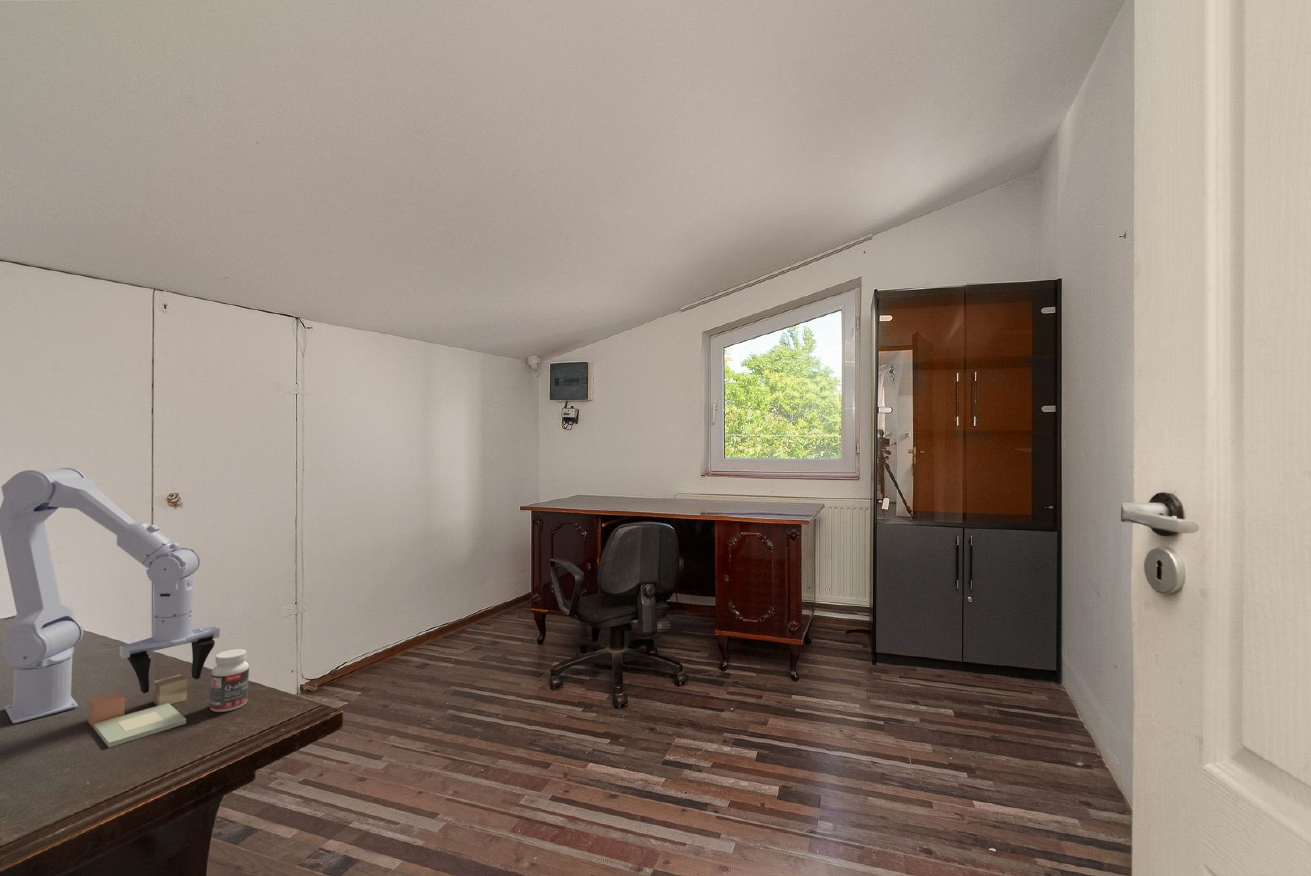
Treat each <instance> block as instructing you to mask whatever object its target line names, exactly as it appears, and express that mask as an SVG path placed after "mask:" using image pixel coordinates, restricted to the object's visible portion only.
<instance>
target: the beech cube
mask: <svg viewBox="0 0 1311 876" xmlns="http://www.w3.org/2000/svg"><path fill="white" fill-rule="evenodd" d="M187 690H188V679H187V678H185V677H184V676H183V675H182V674H177V675H174V676H170V677H165V678H162V679H158V680H157V679H156V680H153V694H152V695H153V696H152V702H153V703H154V704H155V705H156V706H159V705H163V704H166V703H169V704H170V705H171V706H172V705H174V703H175V704H178V703H181V702H180V701H182V702H185V701H187V700H188V699H187V698H188V697H187V694H188V691H187ZM177 702H178V703H177Z"/></svg>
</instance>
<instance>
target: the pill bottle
mask: <svg viewBox="0 0 1311 876" xmlns="http://www.w3.org/2000/svg"><path fill="white" fill-rule="evenodd" d="M247 654H248V653H247V650H246V649H243V648H238V649H236V648H235V649H229V650H224V651H221V652H219V653H217V654H216V655H215V661H214V662H215V664H216V665H215V666H214V667H213V668H212V669H211V673H210V674H211V677H210V697H209V709H210V710H211V711H212V712H215V713H223V712H231V711H235V710H237V709H240V708H242V707H243V706H245V705H246V704H247V703H248V699H249V698H248V697H249V674H250V673H249V671H250V665H249V663H248V661H245V660H246V659H247V657H248V655H247ZM247 681H248V682H247Z"/></svg>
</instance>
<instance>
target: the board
mask: <svg viewBox="0 0 1311 876" xmlns="http://www.w3.org/2000/svg"><path fill="white" fill-rule="evenodd" d="M186 724H187V718H186V717H185V716H183V714H181V713H180V712H179V711H178V710H177V709H176V708H175V707H174V706H172V704H171V705H170V704H169V703H166V704H163V705H159V706H157V705H156V706H152V707H149V708H144V709H142V710H138V711H134V712H131V713H127V714H124V715H123V716H120V717H116V718H113V719H109V720H106V721H102V722H99V723H95V724H94V728H93V729H94V731H95V732H96V733H97V734H98V736H99V737H100V738H101V740H102V741H103V742H104V744H105V745H106V746H107V747H108V748H112V747H115V746H119V745H121V744H125V743H129V742H131V741H136V740H138V739H140V738H141V739H142V738H144V737H147V736H151V735H153V734H157V733H160V732H164V731H167V730H170V729H174V728H176V727H179V726H184V725H186Z"/></svg>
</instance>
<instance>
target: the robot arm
mask: <svg viewBox="0 0 1311 876" xmlns="http://www.w3.org/2000/svg"><path fill="white" fill-rule="evenodd" d="M1 491H2V496H3V499H2V502H1V505H0V541H1V544H2V549H3V555H4V558H5V562H6V568H7V573H8V578H9V582H10V588H11V591H12V596H13V602H14V606H15V607H14V608H15V610H16V615H15V616H14V617H13V619H12V620H11V622H10V623H9V624H8V626H7V627H6V628H5V630H4V632H5V637H6V638H5V642H4V645H3V646H2V647H3V648H2V656H3V658H4V660H5V662H7V664H9V665H10V666H11V669H12V670H14V671H13V689H12V690H13V693H12V696H13V697H12V703H11V704H6V705H5V706H4V710H5V712H6V713H7V715H8V718H9V719H10V721H11V722H12V724H19V723H21V722H25V721H29V720H33V719H37V718H41V717H45V716H49V715H52V714H53V715H54V714H57V713H61V712H64V711H67V710H71V709H75V708H77V707H78V706H79V705H78V703H77V702H76V700H75V699H74V698H73V697H72V679H73V678H72V675H73V671H72V670H73V654H74V653H75V647H76V646H77V645H79V643H80V642H81V641H82V639H83V636H84V628H83V625H82V624H81V622H79V621H78V620H77V618H76V617H75V614H74V610H73V609H72V607H69V606H66V605H65V604H63V603H62V602H61V598H60V593H59V588H58V584H57V583H58V582H57V577H56V573H55V568H54V565H53V560H52V553H51V550H50V545H49V541H48V536H47V531H46V530H47V529H46V526H45V521H47V520H48V519H49V517H51V516H52V514H54V513H55V512H56V511H57V510H58V509H59V508H65V509H75V510H77V511H80V512H81V513H83V514H84V515H86V516H87V517H89V518H90V519H92V521H94V522H96V523H97V524H99V525H101V526H102V527H104V528H105V529H107V530H108V531H110V532H111V533H113V534H114V535H115V536H116V546H118V547H119V548H120V549H121V550H123V551H124V552H125V553H126V554H128V555H129V556H130V557H132V558H133V559H134V560H136V561H137V562H138V563H140V564H141V565H142V566H144V567H145V568H147V569H146V570H145V571H146V575H147V578H148V579H149V581H151V582H152V584H153V610H152V611H153V615H152V617H153V618H152V636H151V637H148V638H145V639H141V640H138V641H135V642H131V643H127V644H123V645H120V646H119V658H121V659H122V660H123V659H127V660H128V662H129V664H130V665H131V666H132V668H133V671H134V672H135V674H136V677H137V679H138V683H139V688H140V692H141V693H142V694H147V693H149V692H150V691H149V690H150V676H149V675H150V668H151V661H152V658H150V657H149V653H150V652H155V651H159V650H164V649H168V648H172V647H177V646H181V645H186V644H191V650H192V651H191V652H192V653H191V654H192V662H191V677H192V679H194V680H199V679H201V674H202V671H203V668H204V665H205V662H206V661H207V658H208V657H209V655H210V653H211V651H212V650H213V649H214V648H215V641H216V640H214V639H217V638H218V639H219V638H220V637H221V636H220V635H221V634H220V633H221V632H220V629H221V628H220V627H219V626H217V625H215V626H208V627H202V628H201V627H200V628H194V629H192V628H193V601H194V599H193V598H194V595H193V594H194V574H195V573H196V572H197V571H198V570H199V567H200V563H201V561H200V557H199V555H198V554H197V553H196V551H195V550H194V548H191V547H187V546H186V547H182V546H181V545H180V544H179V542H176V541H175V542H173V541H172V540H171V539H170V538H168V537H167V536H166V535H164V534H163V533H162V532H161V531H159V530H161V527H160V526H158V525H157V524H156V523H155V524H150V523H149V522H137V521H135V520H134V519H133V518H132V517H130V516H129V515H128V514H127V513H126V512H125V511H124V510H122V509H121V508H120V507H119V506H118V505H117V504H116V503H115V502H113V501H112V500H111V499H110V498H109V497H107V495H105V493H103V492H102V491H101V490H100V489H99V488H98V487H97V484H96V483H95V481H94V480H93V479H91V478H90V477H86V475H85V474H84V473H83V472H82V471H80V470H79V469H77V468H72V467H64V468H63V467H61V468H57V469H40V470H38V469H36V470H35V469H27V470H23V471H20V472H17V473H16V474H15V475H12V477H10V478H9V480H7V481H6V482H5V483H4V484H2V486H1Z"/></svg>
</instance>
